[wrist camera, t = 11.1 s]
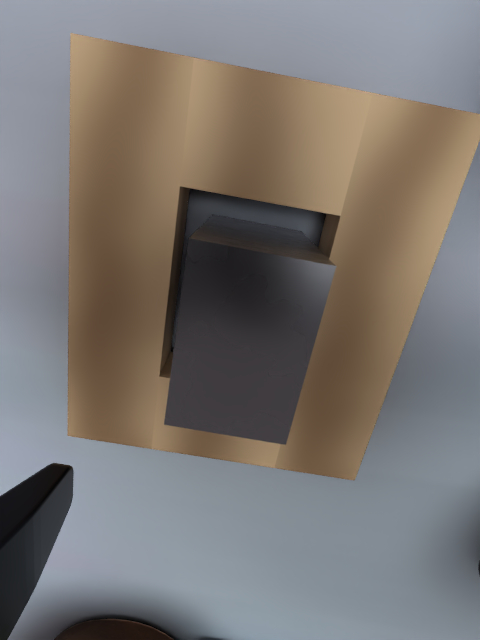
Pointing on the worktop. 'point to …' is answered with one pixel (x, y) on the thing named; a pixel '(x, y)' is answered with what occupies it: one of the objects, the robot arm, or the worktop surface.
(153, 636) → the pitcher
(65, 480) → the robot arm
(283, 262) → the dark grey rectangular prism
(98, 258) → the post socket
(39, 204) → the worktop surface
